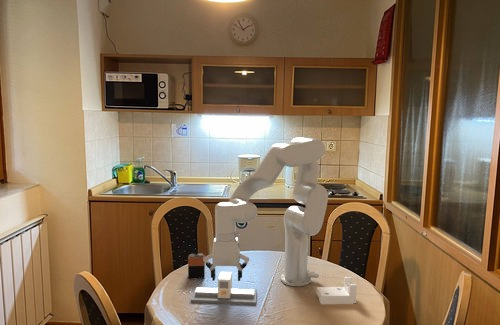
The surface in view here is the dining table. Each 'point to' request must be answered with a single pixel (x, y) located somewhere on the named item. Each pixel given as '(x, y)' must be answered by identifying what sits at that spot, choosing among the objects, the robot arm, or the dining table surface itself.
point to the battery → (196, 266)
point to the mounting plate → (224, 299)
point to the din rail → (234, 293)
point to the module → (224, 284)
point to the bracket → (338, 293)
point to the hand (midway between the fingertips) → (226, 279)
